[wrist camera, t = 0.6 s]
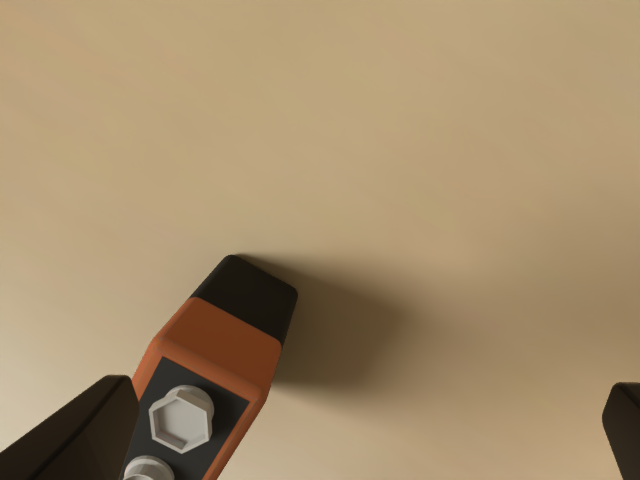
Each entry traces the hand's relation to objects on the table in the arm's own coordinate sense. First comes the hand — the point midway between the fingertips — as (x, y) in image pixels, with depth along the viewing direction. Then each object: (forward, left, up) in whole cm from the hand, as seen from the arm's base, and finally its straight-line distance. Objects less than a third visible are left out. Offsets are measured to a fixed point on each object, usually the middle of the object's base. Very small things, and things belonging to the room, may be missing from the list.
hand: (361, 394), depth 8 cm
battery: (-3, +8, -14) cm, 17 cm away
